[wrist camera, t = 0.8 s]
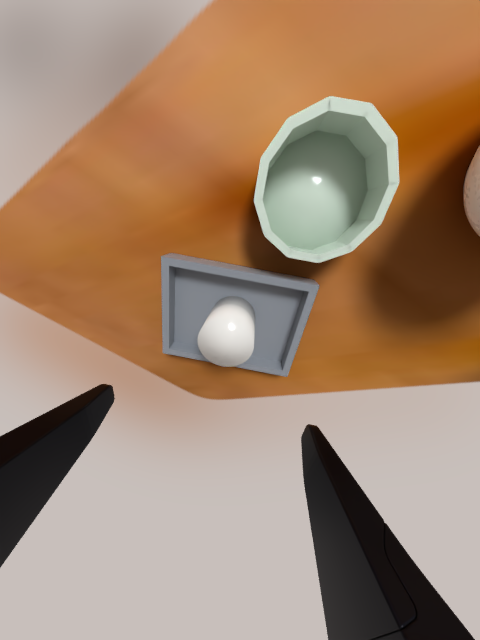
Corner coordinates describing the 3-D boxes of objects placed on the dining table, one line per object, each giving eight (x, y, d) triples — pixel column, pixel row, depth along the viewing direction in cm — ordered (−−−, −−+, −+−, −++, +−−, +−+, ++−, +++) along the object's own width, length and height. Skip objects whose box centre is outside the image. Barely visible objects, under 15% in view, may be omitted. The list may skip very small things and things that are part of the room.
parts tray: (313, 279, 16) (319, 285, 15) (285, 364, 20) (287, 376, 19) (170, 252, 17) (161, 256, 15) (170, 342, 21) (162, 352, 19)
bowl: (392, 137, 12) (429, 113, 10) (343, 262, 16) (360, 270, 13) (270, 115, 12) (272, 86, 10) (248, 244, 16) (245, 249, 13)
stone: (259, 300, 17) (259, 324, 13) (251, 339, 19) (248, 371, 15) (213, 292, 17) (199, 313, 13) (209, 331, 19) (195, 361, 15)
